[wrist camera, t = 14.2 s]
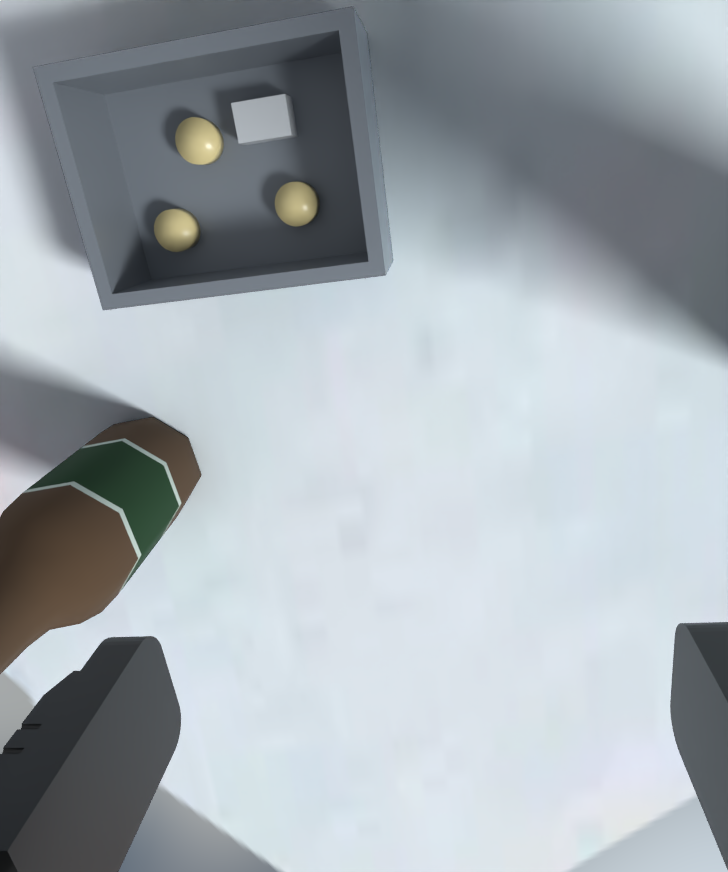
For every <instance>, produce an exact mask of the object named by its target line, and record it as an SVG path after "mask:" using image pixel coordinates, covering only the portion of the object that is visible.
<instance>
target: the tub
mask: <svg viewBox="0 0 728 872" xmlns="http://www.w3.org/2000/svg"><path fill="white" fill-rule="evenodd" d="M33 70H34V73H35V76H36V80H37V83H38V87H39V90H40V94H41V97H42V101H43V104H44V108H45V111H46V115H47V118H48V122H49V125H50V129H51V132H52V135H53V139H54V142H55V146H56V149H57V153H58V156H59V160H60V163H61V167H62V170H63V174H64V177H65V181H66V184H67V188H68V191H69V195H70V198H71V201H72V205H73V208H74V212H75V215H76V219H77V222H78V226H79V229H80V233H81V236H82V240H83V243H84V247H85V250H86V254H87V257H88V260H89V264H90V267H91V271H92V274H93V278H94V281H95V285H96V288H97V292H98V295H99V299H100V302H101V306H102V309H103V310H109V309H117V308H125V307H133V306H141V305H149V304H158V303H166V302H174V301H182V300H190V299H198V298H206V297H214V296H222V295H231V294H239V293H247V292H255V291H263V290H271V289H279V288H287V287H296V286H304V285H312V284H320V283H328V282H336V281H344V280H352V279H361V278H369V277H377V276H385V275H386V274H387V272H388V270H389V268H390V266H391V264H392V262H393V255H392V246H391V237H390V228H389V220H388V211H387V202H386V194H385V185H384V176H383V167H382V159H381V150H380V141H379V133H378V124H377V115H376V106H375V98H374V89H373V80H372V72H371V63H370V54H369V45H368V37H367V32H366V30H365V28H364V26H363V24H362V22H361V20H360V18H359V16H358V14H357V12H356V10H355V8H354V7H347V8H342V9H337V10H331V11H326V12H321V13H316V14H310V15H305V16H300V17H295V18H289V19H284V20H279V21H273V22H268V23H263V24H258V25H252V26H247V27H242V28H236V29H231V30H226V31H221V32H215V33H210V34H205V35H199V36H194V37H189V38H184V39H178V40H173V41H168V42H163V43H157V44H152V45H147V46H141V47H136V48H131V49H126V50H120V51H115V52H110V53H104V54H99V55H94V56H89V57H83V58H78V59H73V60H67V61H62V62H57V63H52V64H46V65H41V66H36V67H33Z"/></svg>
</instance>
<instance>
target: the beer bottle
mask: <svg viewBox="0 0 728 872" xmlns="http://www.w3.org/2000/svg"><path fill="white" fill-rule="evenodd" d="M200 477H201V472H200V469H199V466H198V464H197V461H196V458H195V455H194V452H193V449H192V447H191V444H190V441H189V438H188V437H186V436H184V435H183V434H181V433H179V432H177V431H176V430H174V429H172V428H171V427H169V426H167V425H166V424H164V423H162V422H161V421H159V420H157V419H156V418H154V417H149V418H144V419H139V420H134V421H129V422H123V423H118V424H114V425H112V426H111V427H109V428H108V429H106V430H104V431H103V432H101V433H100V434H99V435H97V436H96V437H95V438H93V439H92V440H91V441H89V442H88V443H87V444H86V445H84V446H83V447H82V448H80V449H79V450H78V451H76V452H75V453H74V454H73V455H71V456H70V457H69V458H67V459H66V460H65V461H63V462H62V463H61V464H60V465H58V466H57V467H56V468H54V469H53V470H52V471H50V472H49V473H48V474H47V475H45V476H44V477H43V478H41V479H40V480H39V481H38V482H36V483H35V484H34V485H32V486H31V487H30V488H28V489H27V490H26V491H25V492H23V493H22V494H21V495H20V496H19V497H18V498H17V499H16V500H15V501H14V502H13V503H11V504H10V505H9V506H8V507H7V508H6V509H5V510H4V511H3V513H2V515H1V517H0V674H1V673H2V672H3V671H4V670H5V669H6V668H7V667H8V666H9V665H10V664H11V663H12V662H13V661H14V660H15V659H16V658H17V657H18V656H19V655H20V654H21V653H22V652H23V651H24V650H25V649H26V648H27V647H28V646H29V645H31V644H32V643H33V642H34V641H36V640H37V639H38V638H40V637H41V636H42V635H43V634H45V633H46V632H47V631H49V630H51V629H56V628H61V627H66V626H71V625H76V624H80V623H82V622H84V621H86V620H88V619H90V618H91V617H93V616H95V615H97V614H99V613H101V612H102V611H103V610H104V609H105V608H106V607H107V606H108V605H109V603H110V602H111V601H112V600H113V599H114V598H115V597H116V596H117V595H118V594H119V592H120V591H121V590H122V589H123V587H124V586H125V585H126V583H127V582H128V581H129V579H130V578H131V577H132V575H133V574H134V573H135V571H136V570H137V569H138V567H139V566H140V565H141V564H142V562H143V561H144V560H145V558H146V557H147V556H148V554H149V553H150V552H151V550H152V549H153V548H154V546H155V545H156V544H157V542H158V541H159V540H160V539H161V537H162V536H163V535H164V533H165V532H166V531H167V529H168V528H169V527H170V525H171V524H172V523H173V521H174V520H175V519H176V517H177V516H178V514H179V513H180V511H181V509H182V508H183V506H184V505H185V503H186V501H187V500H188V498H189V496H190V494H191V493H192V491H193V489H194V487H195V486H196V484H197V482H198V481H199V479H200Z"/></svg>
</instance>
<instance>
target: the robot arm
mask: <svg viewBox="0 0 728 872" xmlns="http://www.w3.org/2000/svg"><path fill="white" fill-rule="evenodd" d="M670 708H671V720H672V726H673V732H674V736H675V740H676V744H677V747H678V750H679V752H680V755H681V757H682V760H683V762H684V765H685V767H686V770H687V772H688V774H689V777H690V779H691V782H692V784H693V787H694V789H695V791H696V794H697V796H698V799H699V801H700V803H701V806H702V808H703V811H704V813H705V816H706V818H707V821H708V823H709V825H710V828H711V830H712V833H713V835H714V837H715V840H716V842H717V845H718V847H719V850H720V852H721V855H722V857H723V860H724V862H725V864H726V867H727V869H728V622H713V623H680V624H679V625H678V626H677V628H676V632H675V643H674V658H673V673H672V688H671V704H670ZM180 727H181V713H180V707H179V703H178V700H177V696H176V693H175V690H174V687H173V683H172V680H171V677H170V673H169V670H168V667H167V664H166V660H165V657H164V654H163V650H162V647H161V645H160V643H159V641H158V640H157V639H156V638H155V637H152V636H145V637H111V638H107V639H105V640H104V641H103V642H102V643H101V644H100V645H99V646H98V648H97V649H96V650H95V652H94V653H93V655H92V656H91V657H90V659H89V660H88V661H87V663H86V664H85V666H84V667H83V668H82V670H81V671H73V672H72V673H71V674H69V675H68V676H67V677H66V678H64V679H63V680H62V681H61V682H59V683H58V684H57V685H56V686H54V687H53V688H52V689H51V690H50V691H48V692H47V693H46V694H45V695H43V697H42V698H41V699H40V701H39V702H38V703H37V704H36V706H35V707H34V708H33V710H32V711H31V712H30V714H29V715H28V716H27V718H26V719H25V720H24V721H23V723H22V728H21V730H17V731H16V732H15V733H14V735H13V736H12V737H11V738H10V740H9V741H8V742H7V744H6V745H5V746H4V748H3V749H4V750H3V753H2V754H0V872H118V871H119V869H120V867H121V865H122V863H123V860H124V858H125V856H126V854H127V852H128V850H129V848H130V845H131V844H132V841H133V839H134V837H135V835H136V833H137V831H138V828H139V826H140V824H141V821H142V820H143V818H144V816H145V813H146V811H147V809H148V807H149V805H150V803H151V800H152V798H153V796H154V794H155V792H156V789H157V788H158V785H159V783H160V781H161V779H162V777H163V775H164V773H165V770H166V768H167V766H168V764H169V762H170V760H171V757H172V755H173V753H174V751H175V749H176V746H177V743H178V739H179V734H180Z"/></svg>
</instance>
